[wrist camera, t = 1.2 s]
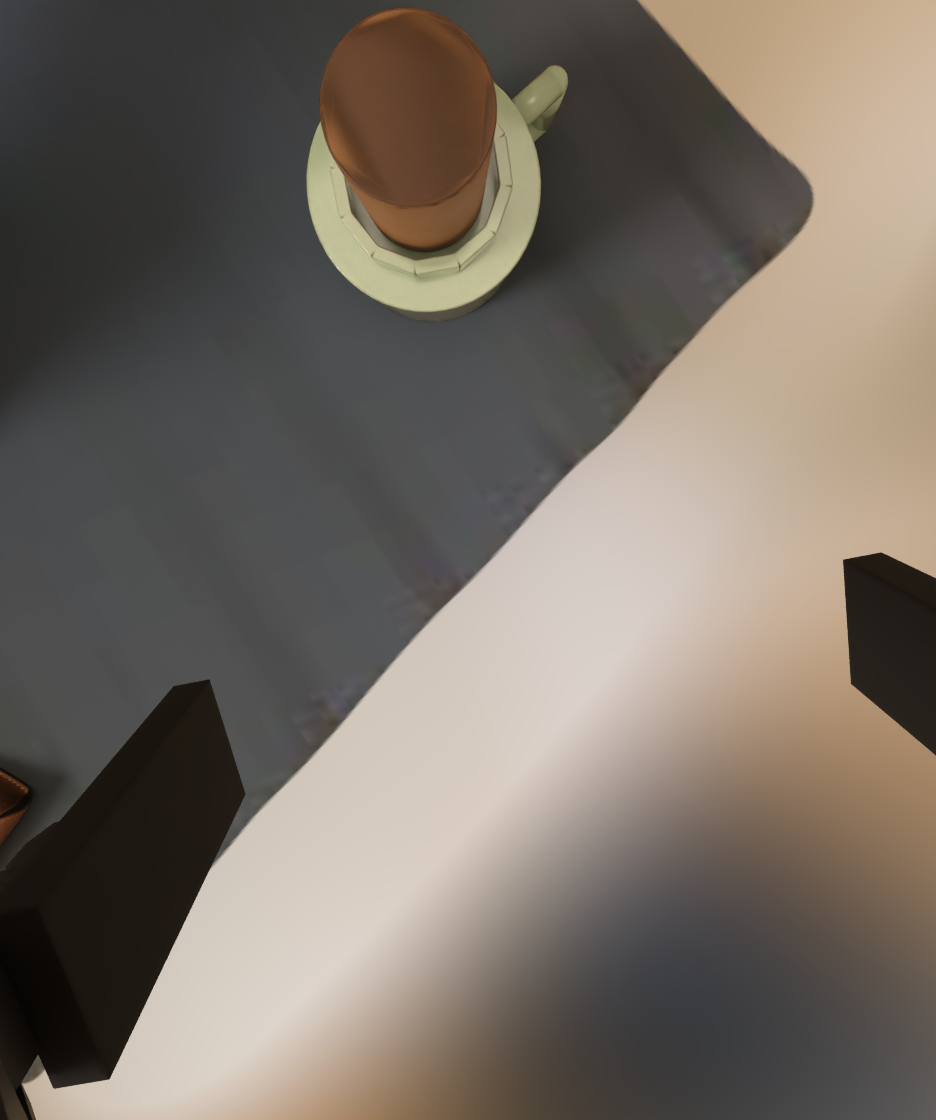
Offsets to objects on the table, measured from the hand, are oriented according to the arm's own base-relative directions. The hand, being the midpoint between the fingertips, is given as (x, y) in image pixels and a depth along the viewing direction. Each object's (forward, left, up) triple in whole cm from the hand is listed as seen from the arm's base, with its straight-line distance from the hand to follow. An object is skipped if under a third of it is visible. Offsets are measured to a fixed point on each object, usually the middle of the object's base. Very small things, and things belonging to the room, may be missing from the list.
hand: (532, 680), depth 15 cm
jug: (-13, +8, -36) cm, 39 cm away
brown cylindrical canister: (-13, +6, -24) cm, 28 cm away
